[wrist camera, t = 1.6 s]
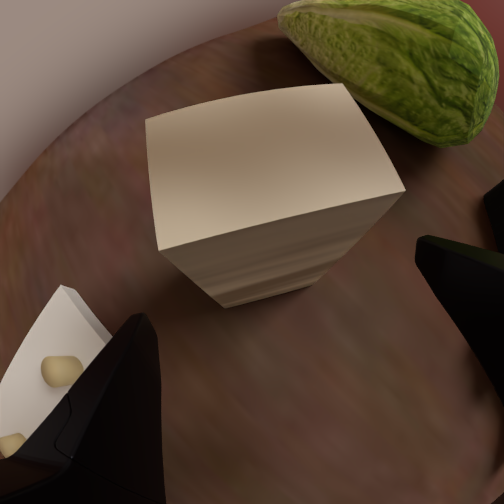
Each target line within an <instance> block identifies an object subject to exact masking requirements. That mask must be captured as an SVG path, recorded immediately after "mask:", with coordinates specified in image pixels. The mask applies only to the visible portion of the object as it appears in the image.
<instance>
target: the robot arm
mask: <svg viewBox="0 0 504 504" xmlns="http://www.w3.org/2000/svg"><path fill="white" fill-rule="evenodd" d="M415 263H416V265H417V267H418V269H419V270H420V272H421V273H422V275H423V276H424V278H425V280H426V281H427V283H428V284H429V286H430V288H431V289H432V291H433V293H434V294H435V296H436V297H437V299H438V300H439V302H440V303H441V304H442V306H443V307H444V309H445V310H446V311H447V313H448V314H449V316H450V317H451V319H452V320H453V321H454V323H455V324H456V326H457V327H458V329H459V330H460V332H461V333H462V335H463V336H464V338H465V339H466V341H467V343H468V344H469V346H470V347H471V349H472V350H473V352H474V354H475V355H476V357H477V359H478V360H479V362H480V364H481V365H482V367H483V369H484V370H485V372H486V374H487V376H488V377H489V379H490V381H491V383H492V385H493V386H494V389H495V391H496V393H497V394H498V396H499V398H500V400H501V402H502V404H503V406H504V254H501V253H497V252H494V251H490V250H486V249H483V248H479V247H475V246H471V245H468V244H464V243H460V242H456V241H452V240H448V239H444V238H439V237H435V236H431V235H425V236H422V237H419V238H418V239H417V243H416V252H415ZM0 504H166V497H165V486H164V473H163V456H162V430H161V373H160V363H159V351H158V338H157V334H156V332H155V330H154V328H153V326H152V324H151V322H150V321H149V319H148V317H147V315H146V314H145V313H138V314H133V315H131V316H130V317H129V319H128V320H127V321H126V322H125V323H124V324H123V325H122V327H121V328H120V329H119V330H118V331H117V332H116V334H115V335H114V336H113V337H112V338H111V339H110V341H109V342H108V343H107V344H106V345H105V346H104V348H103V349H102V350H101V351H100V352H99V353H98V355H97V356H96V357H95V358H94V359H93V361H92V362H91V363H90V364H89V366H88V367H87V368H86V369H85V370H84V372H83V373H82V374H81V375H80V376H79V378H78V379H77V380H76V381H75V383H74V384H73V385H72V386H71V388H70V389H69V390H68V393H66V394H65V395H64V396H63V398H62V399H61V400H60V402H59V403H58V404H57V405H56V407H55V408H54V409H53V410H52V411H51V413H50V414H49V415H48V416H47V417H46V418H45V420H44V421H43V422H42V423H41V424H40V425H39V426H38V428H37V429H36V430H35V431H34V432H33V433H32V434H31V435H30V437H29V438H28V439H27V440H26V441H25V442H24V443H23V445H22V446H21V447H20V448H19V449H18V450H17V451H16V452H15V453H14V454H12V455H11V456H9V457H7V458H4V459H1V460H0ZM491 504H504V493H503V494H502V495H501V496H499V497H498V498H497V499H496V500H495V501H494V502H493V503H491Z"/></svg>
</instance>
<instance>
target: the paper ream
mask: <svg viewBox="0 0 504 504" xmlns="http://www.w3.org/2000/svg"><path fill="white" fill-rule="evenodd" d="M145 122H146V141H147V156H148V168H149V179H150V189H151V198H152V207H153V215H154V223H155V230H156V237H157V244H158V250H159V252H161V253H162V254H163V255H164V256H165V257H166V258H167V259H168V260H169V261H170V262H172V263H173V264H174V265H175V266H176V267H177V268H178V269H179V270H180V271H182V272H183V273H184V274H185V275H186V276H187V277H188V278H190V279H191V280H192V281H193V282H194V283H195V284H196V285H198V286H199V287H200V288H201V289H202V290H203V291H205V292H206V293H207V294H208V295H209V296H210V297H212V298H213V299H214V300H215V301H216V302H218V303H219V304H220V305H221V306H222V307H224V308H229V307H233V306H237V305H241V304H245V303H249V302H253V301H256V300H260V299H264V298H268V297H271V296H275V295H279V294H282V293H286V292H289V291H293V290H296V289H300V288H303V287H307V286H310V285H313V284H314V283H315V282H316V281H317V280H318V279H319V278H320V277H321V276H322V275H324V274H325V273H326V272H327V271H328V270H329V269H330V268H331V267H332V266H333V265H334V264H335V263H336V262H337V261H338V260H339V259H340V258H341V257H342V256H343V255H344V254H345V253H346V252H347V251H348V250H349V249H350V248H351V247H352V246H353V245H354V244H355V243H356V242H357V241H358V240H359V239H360V238H361V237H362V236H363V235H364V234H365V233H366V232H367V231H368V230H369V229H370V228H371V227H372V226H373V225H374V224H375V223H376V222H377V221H378V220H379V219H380V218H381V217H382V216H383V215H384V214H385V213H386V212H387V211H388V209H389V208H390V207H391V206H392V205H393V204H394V203H395V202H396V201H397V200H398V199H399V198H400V197H401V195H402V194H403V193H404V192H405V191H406V190H405V188H404V186H403V184H402V182H401V180H400V178H399V176H398V174H397V172H396V170H395V168H394V166H393V164H392V162H391V160H390V158H389V157H388V155H387V153H386V151H385V149H384V148H383V146H382V144H381V142H380V141H379V139H378V137H377V136H376V134H375V132H374V131H373V129H372V127H371V126H370V124H369V122H368V121H367V119H366V118H365V116H364V114H363V113H362V111H361V110H360V108H359V107H358V105H357V104H356V102H355V101H354V99H353V98H352V96H351V95H350V93H349V92H348V91H347V89H346V88H345V86H344V85H343V84H342V83H339V84H322V85H310V86H299V87H290V88H282V89H275V90H268V91H261V92H255V93H249V94H244V95H238V96H233V97H228V98H223V99H219V100H214V101H210V102H206V103H202V104H198V105H194V106H190V107H186V108H182V109H179V110H175V111H172V112H168V113H165V114H162V115H158V116H155V117H152V118H149V119H146V120H145Z"/></svg>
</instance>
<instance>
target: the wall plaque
mask: <svg viewBox="0 0 504 504" xmlns="http://www.w3.org/2000/svg"><path fill="white" fill-rule="evenodd" d="M484 203H485V206H486V210H487V213H488V216H489V219H490V222H491V226H492V229H493V233H494V236H495V240H496V244H497V247H498V251H499V253H501V254H504V180H502V181H501V182H500V183H499V184H497V185H496V186H495V187H494V188H492V189H491V190H490V191H489V192H487V193H486V194H485V195H484Z"/></svg>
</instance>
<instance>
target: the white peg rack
mask: <svg viewBox="0 0 504 504" xmlns="http://www.w3.org/2000/svg"><path fill="white" fill-rule="evenodd" d="M112 337H113V336H112V335H111V334H110V333H109V332H108V331H107V329H106V328H105V327H104V326H103V325H102V323H101V322H100V321H99V320H98V319H97V317H96V316H95V315H94V314H93V312H92V311H91V310H90V309H89V307H88V306H87V305H86V303H85V302H84V301H83V299H82V298H81V297H80V295H79V294H78V293H77V291H76V290H74V289H71V288H68V287H65V286H62V285H60V287H59V288H58V289H57V291H56V292H55V293H54V295H53V296H52V298H51V299H50V301H49V302H48V304H47V305H46V306H45V308H44V309H43V311H42V312H41V314H40V315H39V317H38V319H37V320H36V322H35V323H34V325H33V326H32V328H31V330H30V331H29V333H28V334H27V336H26V338H25V339H24V341H23V343H22V344H21V346H20V348H19V350H18V351H17V353H16V355H15V357H14V358H13V360H12V362H11V364H10V366H9V368H8V369H7V371H6V373H5V375H4V377H3V379H2V381H1V383H0V451H1V453H2V454H3V455H4V457H5V458H7V457H9V456H11V455H12V454H14V453H15V452H16V451H17V450H18V449H19V448H20V447H21V446H22V445H23V443H24V442H25V441H26V440H27V439H28V438H29V437H30V435H31V434H32V433H33V432H34V431H35V430H36V429H37V428H38V426H39V425H40V424H41V423H42V422H43V421H44V420H45V418H46V417H47V416H48V415H49V414H50V413H51V411H52V410H53V409H54V408H55V407H56V405H57V404H58V403H59V402H60V400H61V399H62V398H63V396H64V395H65V394H66V393H68V390H69V389H70V388H71V386H72V385H73V384H74V383H75V381H76V380H77V379H78V378H79V376H80V375H81V374H82V373H83V372H84V370H85V369H86V368H87V367H88V366H89V364H90V363H91V362H92V361H93V359H94V358H95V357H96V356H97V355H98V353H99V352H100V351H101V350H102V349H103V348H104V346H105V345H106V344H107V343H108V342H109V341H110V339H111V338H112Z"/></svg>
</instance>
